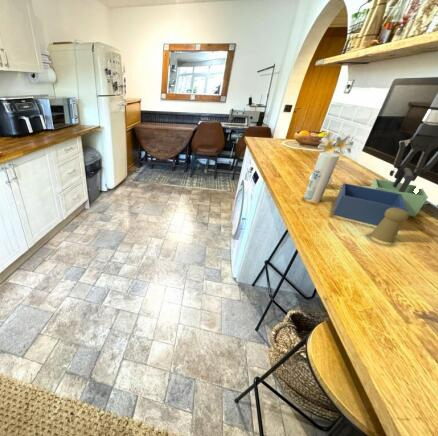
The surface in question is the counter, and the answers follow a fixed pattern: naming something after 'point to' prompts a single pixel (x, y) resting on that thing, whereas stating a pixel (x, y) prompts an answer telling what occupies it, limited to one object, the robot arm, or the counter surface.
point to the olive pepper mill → (390, 225)
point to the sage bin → (404, 191)
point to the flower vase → (341, 144)
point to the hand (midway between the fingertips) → (398, 187)
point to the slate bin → (366, 203)
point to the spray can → (321, 176)
